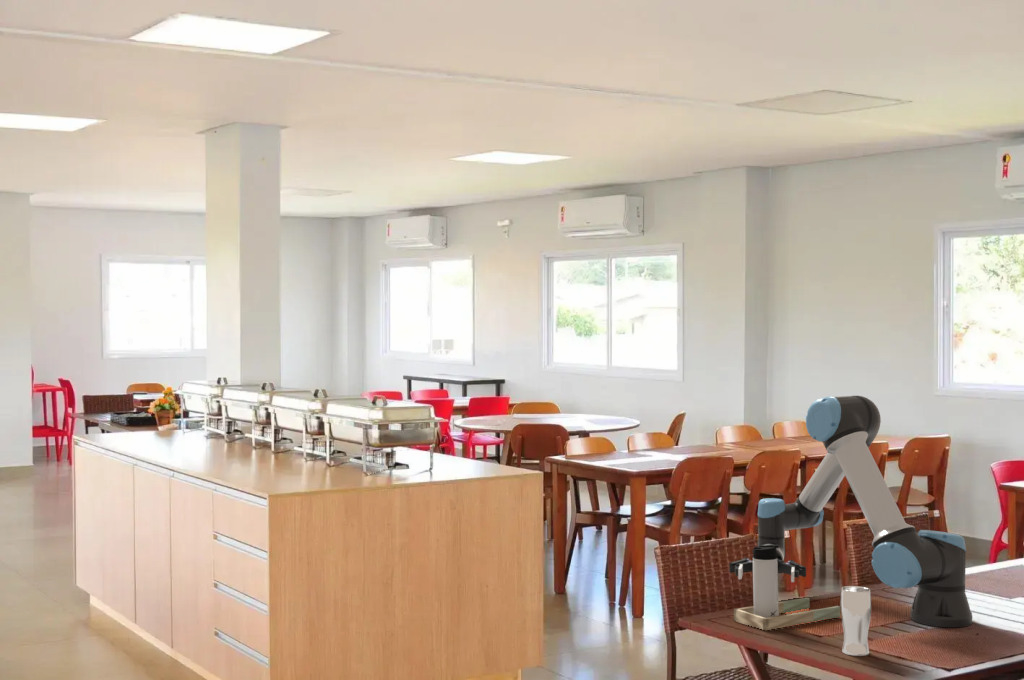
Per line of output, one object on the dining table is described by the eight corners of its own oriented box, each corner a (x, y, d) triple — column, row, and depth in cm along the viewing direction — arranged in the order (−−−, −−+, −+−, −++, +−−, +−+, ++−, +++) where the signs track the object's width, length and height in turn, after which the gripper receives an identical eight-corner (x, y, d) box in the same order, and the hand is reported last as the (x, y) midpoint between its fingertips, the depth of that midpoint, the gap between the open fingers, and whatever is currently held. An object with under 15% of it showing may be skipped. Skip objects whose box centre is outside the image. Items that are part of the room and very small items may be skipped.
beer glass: (835, 648, 276) (836, 585, 276) (864, 648, 276) (864, 585, 276) (846, 657, 269) (847, 592, 269) (875, 656, 270) (876, 592, 269)
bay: (840, 618, 305) (840, 606, 305) (765, 631, 292) (765, 619, 292) (806, 608, 315) (806, 597, 315) (733, 620, 302) (733, 609, 302)
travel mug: (780, 625, 296) (778, 547, 296) (753, 624, 298) (752, 546, 298) (780, 620, 302) (778, 543, 302) (754, 619, 304) (752, 542, 304)
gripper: (815, 575, 323) (814, 592, 303) (724, 570, 330) (718, 587, 309) (815, 548, 323) (815, 563, 302) (724, 544, 329) (718, 558, 309)
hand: (765, 575), depth 306 cm, fingers open, 13 cm apart
